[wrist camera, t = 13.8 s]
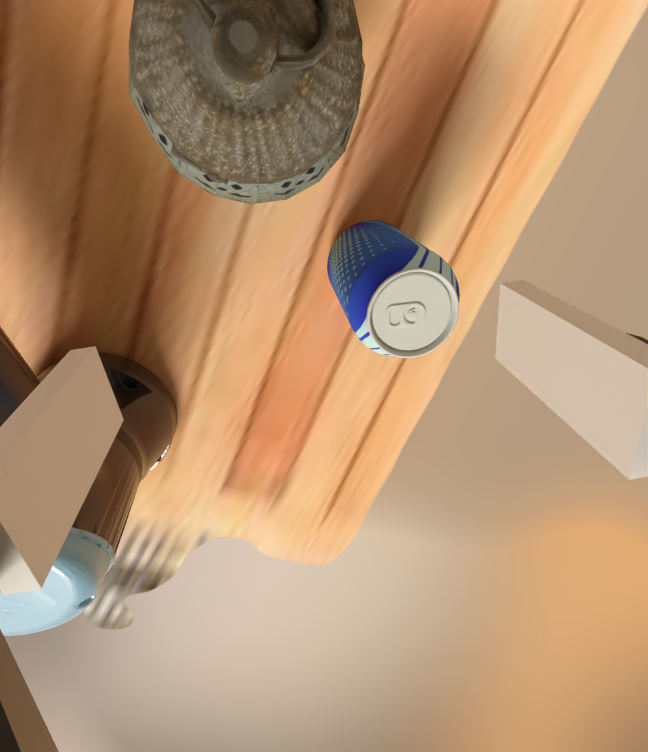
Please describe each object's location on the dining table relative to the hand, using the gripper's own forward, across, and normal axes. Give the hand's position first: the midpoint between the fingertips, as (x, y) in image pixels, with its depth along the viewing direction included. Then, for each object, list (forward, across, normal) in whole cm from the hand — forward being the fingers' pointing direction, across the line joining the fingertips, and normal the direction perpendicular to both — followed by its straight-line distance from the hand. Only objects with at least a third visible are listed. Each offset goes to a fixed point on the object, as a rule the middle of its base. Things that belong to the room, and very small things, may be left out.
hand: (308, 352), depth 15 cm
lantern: (+32, 0, +10) cm, 33 cm away
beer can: (+32, +8, -6) cm, 33 cm away
